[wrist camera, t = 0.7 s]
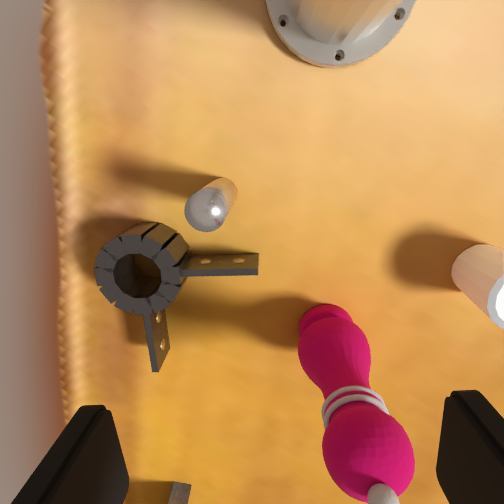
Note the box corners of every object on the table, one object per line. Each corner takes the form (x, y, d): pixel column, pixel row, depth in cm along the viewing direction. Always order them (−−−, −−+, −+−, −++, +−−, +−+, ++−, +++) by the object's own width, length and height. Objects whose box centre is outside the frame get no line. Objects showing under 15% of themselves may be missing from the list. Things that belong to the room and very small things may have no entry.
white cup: (455, 234, 33) (503, 257, 27) (522, 241, 33) (586, 265, 26) (437, 294, 35) (477, 329, 29) (499, 300, 35) (553, 336, 29)
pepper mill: (282, 319, 37) (301, 502, 18) (337, 288, 36) (421, 452, 17) (314, 363, 39) (361, 572, 20) (368, 336, 37) (474, 533, 18)
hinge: (111, 223, 34) (87, 236, 29) (257, 219, 33) (256, 231, 29) (134, 348, 39) (116, 376, 34) (261, 346, 38) (261, 375, 34)
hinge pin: (206, 178, 32) (182, 191, 23) (236, 177, 32) (224, 190, 23) (209, 207, 33) (186, 232, 24) (237, 206, 33) (226, 231, 24)
